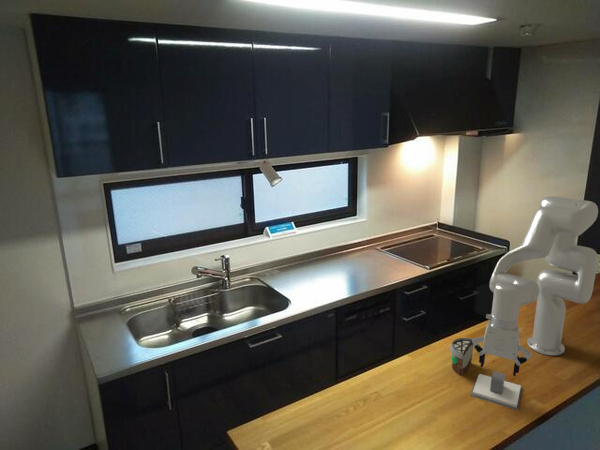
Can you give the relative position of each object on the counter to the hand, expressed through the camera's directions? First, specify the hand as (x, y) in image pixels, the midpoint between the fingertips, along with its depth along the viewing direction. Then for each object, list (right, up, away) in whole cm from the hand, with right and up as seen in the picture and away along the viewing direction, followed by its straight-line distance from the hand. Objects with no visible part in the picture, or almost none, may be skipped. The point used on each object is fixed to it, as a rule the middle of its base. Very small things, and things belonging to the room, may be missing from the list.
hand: (498, 369), depth 137 cm
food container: (-7, -5, +17) cm, 19 cm away
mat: (+1, -9, +3) cm, 9 cm away
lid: (+1, -8, +3) cm, 9 cm away
